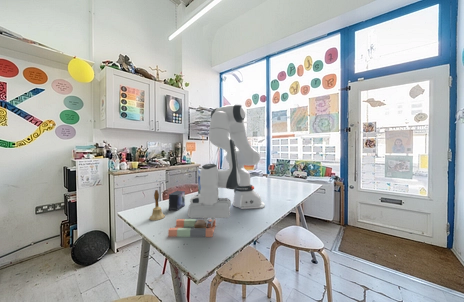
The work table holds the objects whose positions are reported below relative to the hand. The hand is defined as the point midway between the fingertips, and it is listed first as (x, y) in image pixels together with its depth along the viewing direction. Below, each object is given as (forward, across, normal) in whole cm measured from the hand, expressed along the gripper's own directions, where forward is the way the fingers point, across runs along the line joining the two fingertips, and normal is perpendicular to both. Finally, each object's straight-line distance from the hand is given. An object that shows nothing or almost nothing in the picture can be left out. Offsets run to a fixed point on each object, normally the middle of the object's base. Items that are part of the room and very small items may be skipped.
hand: (209, 226), depth 84 cm
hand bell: (+2, +33, -16) cm, 36 cm away
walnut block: (+2, +4, 0) cm, 5 cm away
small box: (+2, +26, -31) cm, 41 cm away
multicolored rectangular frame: (+2, +8, 0) cm, 8 cm away
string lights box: (+2, +8, -31) cm, 32 cm away
